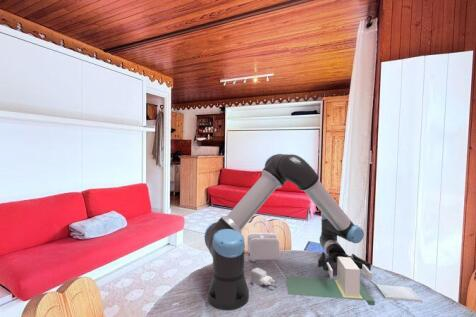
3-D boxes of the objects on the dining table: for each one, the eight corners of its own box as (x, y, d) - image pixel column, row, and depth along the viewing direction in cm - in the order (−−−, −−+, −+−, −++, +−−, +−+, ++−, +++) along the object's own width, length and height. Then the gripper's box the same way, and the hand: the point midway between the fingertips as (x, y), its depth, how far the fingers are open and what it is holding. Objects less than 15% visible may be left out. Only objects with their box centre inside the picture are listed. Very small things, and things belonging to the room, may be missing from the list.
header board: (288, 298, 87) (288, 283, 87) (285, 279, 100) (285, 266, 100) (374, 305, 83) (374, 289, 83) (360, 284, 96) (360, 271, 96)
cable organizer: (248, 262, 114) (248, 239, 114) (247, 253, 125) (247, 231, 125) (279, 263, 115) (279, 239, 114) (275, 253, 125) (275, 232, 125)
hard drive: (385, 296, 87) (422, 299, 85) (375, 284, 95) (409, 286, 93) (384, 300, 87) (422, 303, 85) (375, 288, 95) (409, 290, 93)
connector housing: (345, 295, 86) (345, 268, 86) (336, 280, 96) (337, 256, 95) (359, 296, 85) (360, 269, 85) (349, 281, 95) (350, 257, 95)
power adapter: (279, 290, 92) (279, 275, 92) (271, 295, 88) (271, 280, 88) (257, 279, 100) (257, 265, 99) (249, 284, 96) (249, 269, 96)
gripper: (363, 261, 107) (386, 287, 86) (306, 257, 110) (315, 282, 89) (363, 244, 106) (387, 267, 85) (306, 241, 110) (316, 263, 88)
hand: (350, 275), depth 87 cm, fingers open, 13 cm apart
